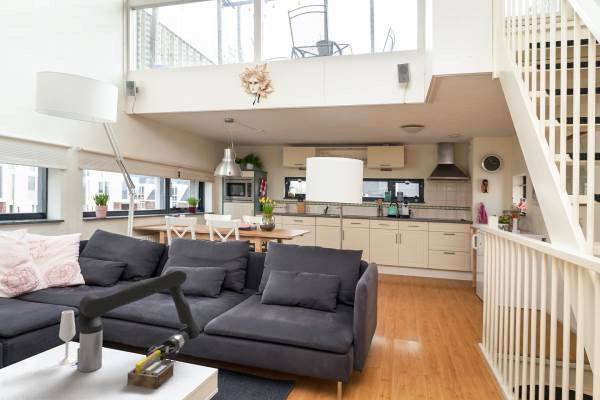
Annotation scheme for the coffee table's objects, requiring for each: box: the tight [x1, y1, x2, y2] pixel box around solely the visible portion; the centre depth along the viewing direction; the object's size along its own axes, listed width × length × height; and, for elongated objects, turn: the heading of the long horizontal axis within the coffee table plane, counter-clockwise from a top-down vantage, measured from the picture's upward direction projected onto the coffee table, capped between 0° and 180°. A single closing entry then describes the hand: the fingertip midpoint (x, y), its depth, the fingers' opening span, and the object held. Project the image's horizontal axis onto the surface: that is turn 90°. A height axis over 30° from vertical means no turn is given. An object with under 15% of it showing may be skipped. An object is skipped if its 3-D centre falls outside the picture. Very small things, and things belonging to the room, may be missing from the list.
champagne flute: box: [58, 309, 76, 365], centre depth 176 cm, size 7×7×24 cm
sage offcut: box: [146, 361, 162, 375], centre depth 160 cm, size 2×8×6 cm, turn 168°
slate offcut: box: [153, 365, 168, 376], centre depth 158 cm, size 2×7×6 cm, turn 168°
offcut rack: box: [126, 362, 174, 390], centre depth 159 cm, size 14×12×5 cm
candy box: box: [135, 350, 162, 374], centre depth 164 cm, size 16×2×8 cm, turn 168°
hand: (153, 357), depth 168 cm, fingers open, 6 cm apart
